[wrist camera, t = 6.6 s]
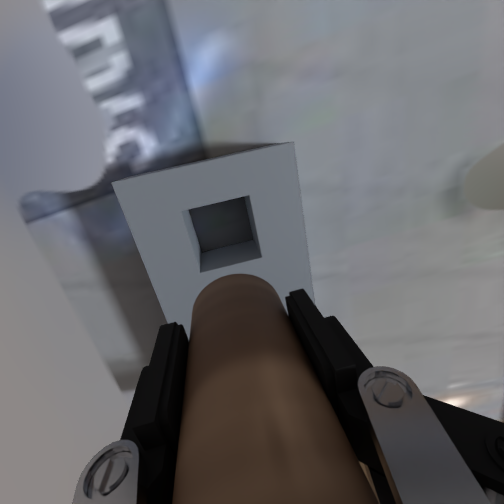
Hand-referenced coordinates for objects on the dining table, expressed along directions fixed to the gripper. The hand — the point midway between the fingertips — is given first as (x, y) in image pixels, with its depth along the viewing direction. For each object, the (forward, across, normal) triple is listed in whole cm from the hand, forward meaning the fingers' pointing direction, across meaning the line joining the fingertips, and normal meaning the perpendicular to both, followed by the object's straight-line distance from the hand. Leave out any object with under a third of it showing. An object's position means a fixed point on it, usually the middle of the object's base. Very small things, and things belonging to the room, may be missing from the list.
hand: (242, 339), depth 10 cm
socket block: (+18, 0, +5) cm, 19 cm away
